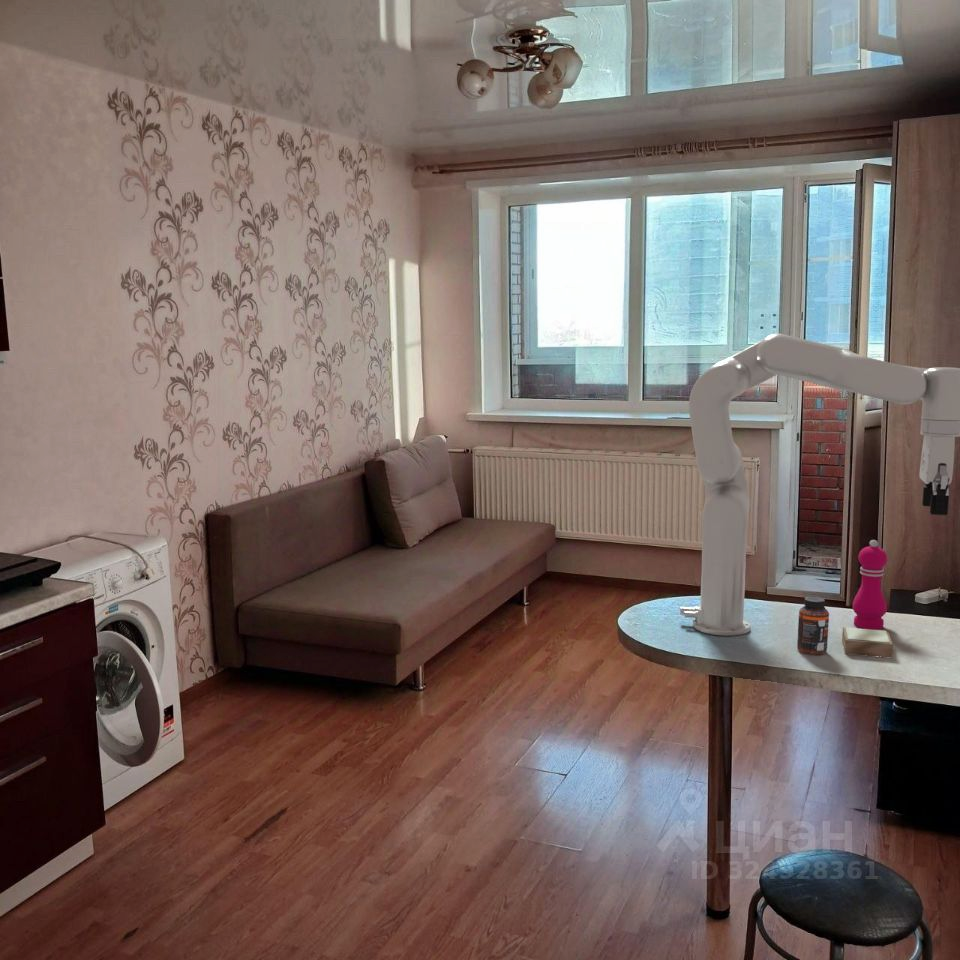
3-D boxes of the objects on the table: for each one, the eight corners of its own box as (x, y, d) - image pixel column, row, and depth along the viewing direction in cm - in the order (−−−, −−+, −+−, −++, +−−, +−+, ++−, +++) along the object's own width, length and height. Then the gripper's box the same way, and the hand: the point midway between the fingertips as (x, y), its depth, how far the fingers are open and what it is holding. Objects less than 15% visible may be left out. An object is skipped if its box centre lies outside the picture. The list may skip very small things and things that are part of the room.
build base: (845, 654, 200) (845, 639, 200) (841, 640, 209) (842, 626, 208) (891, 658, 198) (892, 643, 197) (886, 644, 206) (887, 630, 206)
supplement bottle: (829, 656, 199) (832, 603, 197) (799, 655, 200) (801, 602, 198) (824, 647, 205) (827, 595, 203) (795, 645, 206) (797, 594, 204)
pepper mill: (888, 631, 215) (894, 544, 212) (854, 629, 217) (859, 542, 213) (882, 622, 222) (887, 537, 219) (848, 620, 224) (854, 535, 220)
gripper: (914, 423, 207) (908, 502, 210) (927, 431, 191) (921, 516, 193) (952, 424, 205) (946, 504, 208) (969, 433, 188) (962, 519, 191)
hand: (934, 510), depth 200 cm, fingers open, 9 cm apart
